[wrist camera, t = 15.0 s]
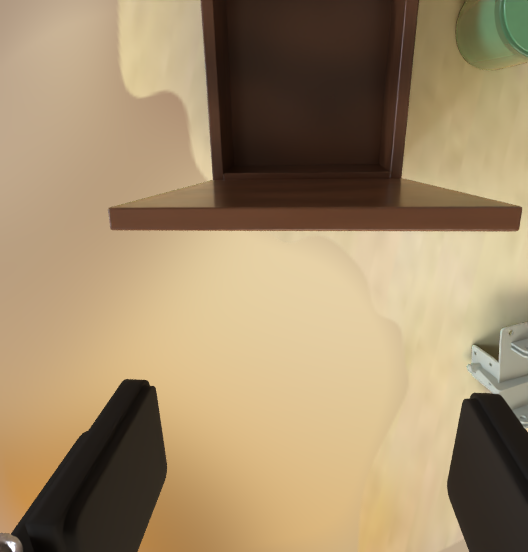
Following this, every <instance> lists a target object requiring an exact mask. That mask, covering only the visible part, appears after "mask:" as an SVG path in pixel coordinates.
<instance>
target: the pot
mask: <svg viewBox="0 0 528 552" xmlns="http://www.w3.org/2000/svg"><path fill="white" fill-rule="evenodd" d="M456 41H457V45H458V49H459V51H460V53H461V55H462V56H463V58H464V59H465V60H466V61H467V62H468V63H469V64H471V65H472V66H474V67H476V68H479V69H482V70H498V69H503V68H507V67H511V66H515V65H519V64H524V63H528V0H466V2H465V3H464V5H463V7H462V9H461V11H460V14H459V17H458V20H457V25H456Z"/></svg>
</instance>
